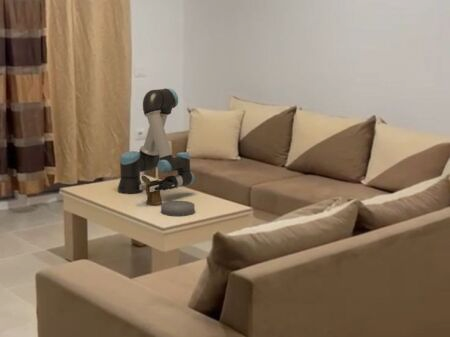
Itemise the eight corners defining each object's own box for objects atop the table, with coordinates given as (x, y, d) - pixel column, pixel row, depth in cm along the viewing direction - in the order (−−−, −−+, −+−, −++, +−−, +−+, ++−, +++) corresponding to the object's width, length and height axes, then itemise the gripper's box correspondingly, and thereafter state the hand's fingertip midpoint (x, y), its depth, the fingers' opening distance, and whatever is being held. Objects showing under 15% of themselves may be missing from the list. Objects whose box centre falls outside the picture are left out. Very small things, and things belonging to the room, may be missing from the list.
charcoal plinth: (160, 207, 411) (160, 200, 411) (193, 207, 413) (193, 200, 413) (161, 216, 394) (161, 209, 393) (195, 216, 396) (195, 208, 395)
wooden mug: (137, 205, 416) (136, 174, 412) (153, 200, 426) (153, 170, 423) (148, 208, 411) (148, 176, 407) (165, 203, 421) (165, 172, 417)
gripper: (186, 190, 425) (158, 198, 407) (160, 185, 437) (132, 192, 419) (186, 177, 424) (158, 184, 406) (160, 173, 436) (132, 179, 418)
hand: (145, 188), depth 413 cm, fingers closed on wooden mug, 7 cm apart
